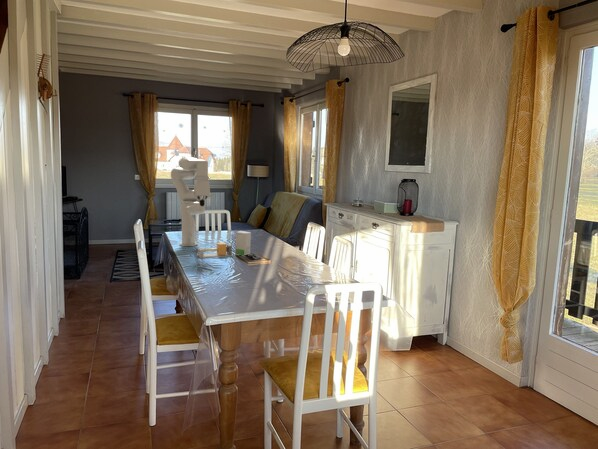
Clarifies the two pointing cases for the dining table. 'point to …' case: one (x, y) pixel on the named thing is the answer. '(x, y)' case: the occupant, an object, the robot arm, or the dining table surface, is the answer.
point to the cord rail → (202, 255)
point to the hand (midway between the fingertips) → (202, 205)
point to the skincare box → (242, 243)
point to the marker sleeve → (221, 248)
